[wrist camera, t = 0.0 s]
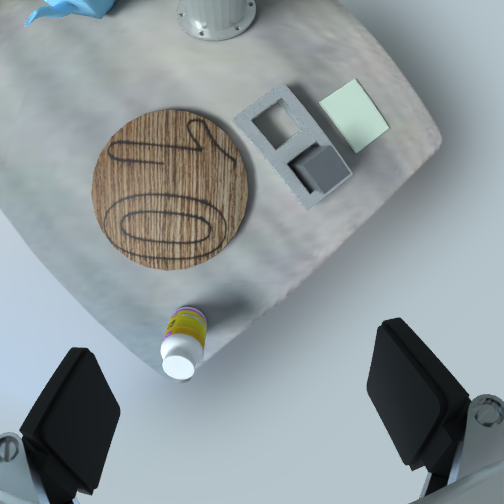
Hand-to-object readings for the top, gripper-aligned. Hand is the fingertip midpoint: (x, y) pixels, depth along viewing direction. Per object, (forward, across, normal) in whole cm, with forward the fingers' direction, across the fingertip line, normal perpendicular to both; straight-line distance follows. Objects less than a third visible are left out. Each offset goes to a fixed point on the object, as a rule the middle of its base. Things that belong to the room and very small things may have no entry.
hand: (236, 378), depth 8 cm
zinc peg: (+37, -12, -4) cm, 39 cm away
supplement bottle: (+38, +10, +20) cm, 44 cm away
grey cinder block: (+37, -10, -8) cm, 39 cm away
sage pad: (+37, -21, -13) cm, 45 cm away
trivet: (+38, +10, -3) cm, 39 cm away
